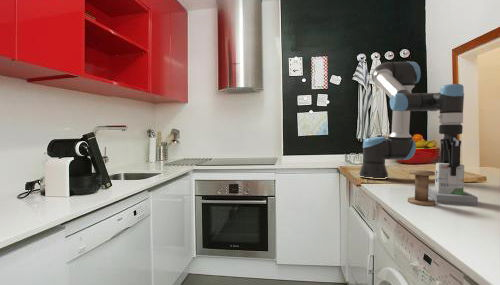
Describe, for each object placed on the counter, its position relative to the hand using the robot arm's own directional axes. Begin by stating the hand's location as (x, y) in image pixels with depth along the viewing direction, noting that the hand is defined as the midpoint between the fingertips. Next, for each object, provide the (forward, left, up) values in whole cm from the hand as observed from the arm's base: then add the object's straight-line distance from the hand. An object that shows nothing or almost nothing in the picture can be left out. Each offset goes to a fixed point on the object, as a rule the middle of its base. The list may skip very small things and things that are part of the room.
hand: (448, 182), depth 111 cm
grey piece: (+1, 0, -7) cm, 7 cm away
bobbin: (+9, -12, -7) cm, 16 cm away
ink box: (0, 0, -4) cm, 4 cm away
